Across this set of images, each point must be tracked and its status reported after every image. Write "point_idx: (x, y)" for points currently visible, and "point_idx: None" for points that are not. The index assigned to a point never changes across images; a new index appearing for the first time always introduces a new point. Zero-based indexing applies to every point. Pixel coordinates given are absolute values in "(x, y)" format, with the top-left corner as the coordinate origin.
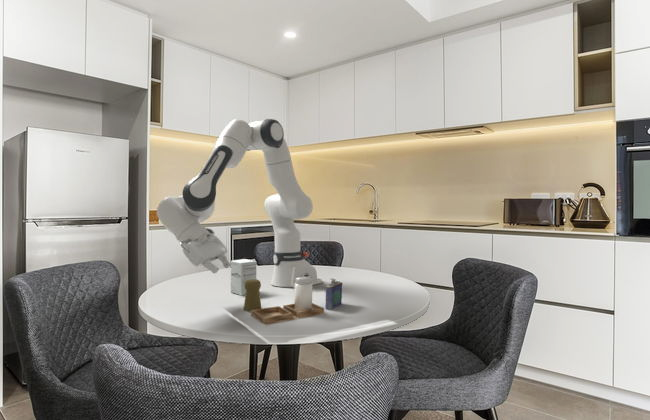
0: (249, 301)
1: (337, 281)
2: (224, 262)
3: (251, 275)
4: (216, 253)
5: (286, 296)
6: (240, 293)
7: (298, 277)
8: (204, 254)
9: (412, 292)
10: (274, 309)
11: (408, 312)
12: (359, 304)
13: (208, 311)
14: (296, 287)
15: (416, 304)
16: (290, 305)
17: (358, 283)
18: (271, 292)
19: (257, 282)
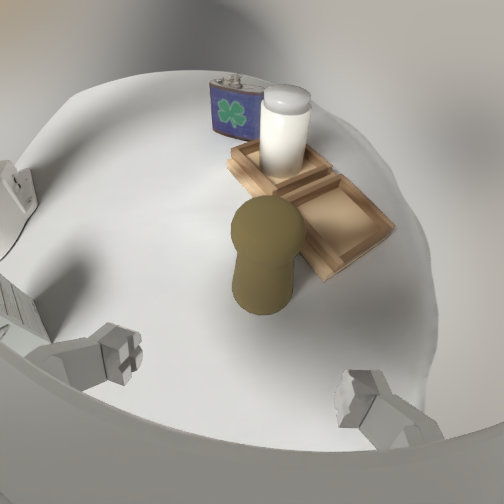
0: (292, 270)
1: (219, 79)
2: (98, 368)
3: (2, 287)
4: (178, 443)
5: (92, 218)
6: (45, 344)
7: (281, 98)
8: (489, 461)
9: (146, 78)
10: None
11: (249, 79)
12: (197, 108)
13: (237, 439)
14: (304, 122)
15: (209, 73)
16: (266, 178)
17: (63, 125)
18: (44, 259)
19: (288, 201)
